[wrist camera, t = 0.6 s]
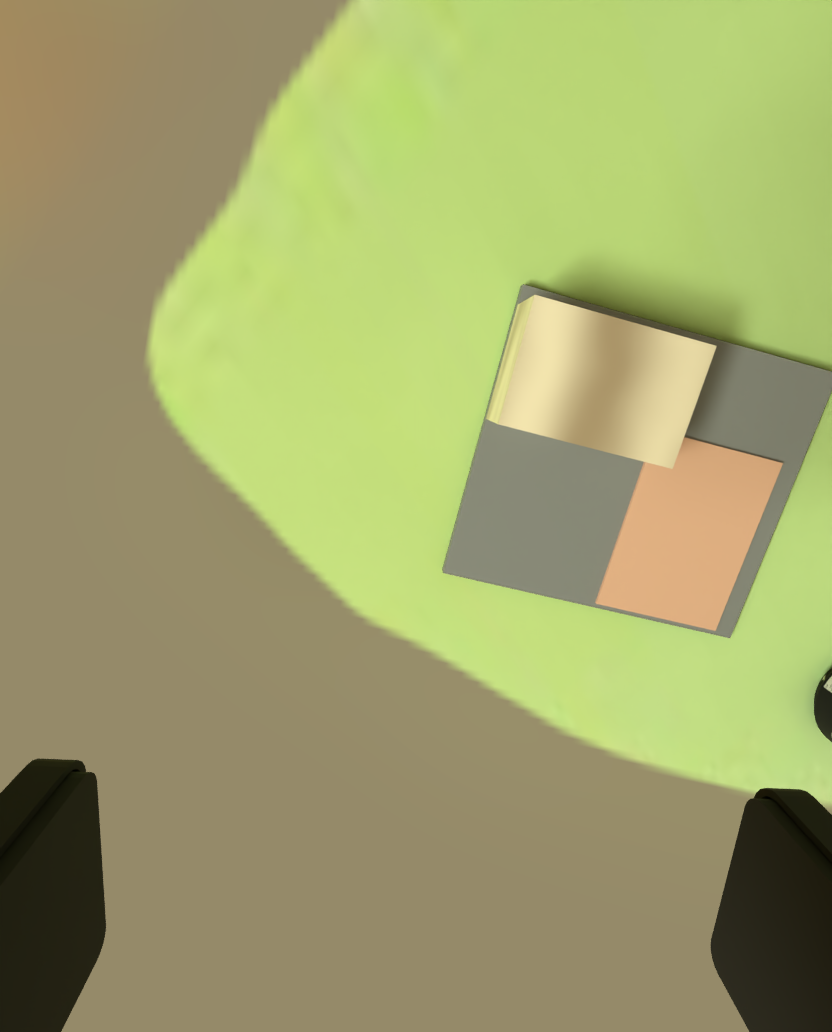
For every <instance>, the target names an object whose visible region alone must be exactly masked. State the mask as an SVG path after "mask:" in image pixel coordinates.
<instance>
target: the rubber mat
mask: <svg viewBox="0 0 832 1032" xmlns="http://www.w3.org/2000/svg"><path fill="white" fill-rule="evenodd" d="M534 295H538V296H541V297H545V298H548V299H552V300H555V301H559V302H563V303H566V304H570V305H573V306H577V307H580V308H584V309H587V310H591V311H594V312H598V313H602V314H605V315H609V316H612V317H616V318H619V319H623V320H626V321H630V322H633V323H637V324H641V325H644V326H648V327H651V328H655V329H658V330H662V331H665V332H669V333H672V334H676V335H680V336H683V337H687V338H690V339H694V340H697V341H701V342H704V343H708V344H712V345H715V346H717V347H716V350H715V352H714V355H713V358H712V361H711V364H710V366H709V369H708V372H707V375H706V378H705V380H704V383H703V386H702V389H701V391H700V394H699V397H698V400H697V403H696V405H695V408H694V411H693V414H692V416H691V419H690V422H689V425H688V428H687V430H686V433H685V436H684V439H683V442H682V444H681V447H680V450H679V453H678V455H677V458H676V461H675V464H674V467H673V469H670V468H666V467H663V466H659V465H655V464H651V463H647V462H643V461H639V460H635V459H631V458H627V457H624V456H620V455H616V454H612V453H608V452H604V451H600V450H596V449H592V448H589V447H585V446H581V445H577V444H573V443H569V442H565V441H561V440H557V439H553V438H550V437H546V436H542V435H538V434H534V433H530V432H526V431H522V430H518V429H514V428H511V427H507V426H503V425H499V424H496V423H494V422H492V421H490V420H487V419H486V417H487V413H488V410H489V406H490V403H491V399H492V395H493V392H494V388H495V385H496V381H497V378H498V374H499V370H500V367H501V363H502V360H503V356H504V352H505V349H506V345H507V342H508V338H509V334H510V331H511V327H512V324H513V320H514V316H515V313H516V309H517V306H518V304H520V303H521V302H523V301H525V300H527V299H528V298H530V297H532V296H534ZM831 391H832V372H831V371H827V370H824V369H820V368H817V367H813V366H810V365H806V364H803V363H799V362H796V361H792V360H788V359H785V358H781V357H778V356H774V355H771V354H767V353H764V352H760V351H757V350H753V349H750V348H746V347H743V346H739V345H736V344H732V343H728V342H725V341H721V340H718V339H714V338H711V337H707V336H704V335H700V334H697V333H693V332H690V331H686V330H683V329H679V328H675V327H672V326H668V325H665V324H661V323H658V322H654V321H651V320H647V319H644V318H640V317H637V316H633V315H630V314H626V313H623V312H619V311H615V310H612V309H608V308H605V307H601V306H598V305H594V304H591V303H587V302H584V301H580V300H577V299H573V298H570V297H566V296H562V295H559V294H555V293H552V292H548V291H545V290H541V289H538V288H534V287H531V286H527V285H524V284H523V285H522V286H521V287H520V291H519V294H518V298H517V302H516V305H515V309H514V313H513V316H512V320H511V323H510V327H509V331H508V334H507V338H506V341H505V345H504V349H503V352H502V356H501V359H500V363H499V367H498V370H497V374H496V377H495V381H494V385H493V388H492V392H491V395H490V399H489V403H488V406H487V410H486V414H485V417H484V421H483V424H482V428H481V432H480V435H479V439H478V442H477V446H476V450H475V453H474V457H473V460H472V464H471V468H470V471H469V475H468V478H467V482H466V486H465V489H464V493H463V496H462V500H461V504H460V507H459V511H458V515H457V518H456V522H455V525H454V529H453V533H452V536H451V540H450V543H449V547H448V551H447V554H446V558H445V561H444V565H443V569H442V570H443V573H446V574H450V575H455V576H459V577H464V578H468V579H472V580H477V581H481V582H485V583H490V584H494V585H499V586H503V587H507V588H512V589H516V590H521V591H525V592H529V593H534V594H538V595H543V596H547V597H551V598H556V599H560V600H565V601H569V602H573V603H578V604H582V605H587V606H591V607H595V608H600V609H604V610H609V611H613V612H617V613H622V614H626V615H631V616H635V617H639V618H644V619H648V620H653V621H657V622H661V623H666V624H670V625H674V626H679V627H683V628H688V629H692V630H696V631H701V632H705V633H710V634H714V635H718V636H723V637H727V638H730V637H731V635H732V632H733V630H734V627H735V625H736V623H737V620H738V618H739V615H740V613H741V610H742V608H743V605H744V603H745V601H746V598H747V596H748V593H749V591H750V588H751V586H752V584H753V581H754V579H755V576H756V574H757V571H758V569H759V567H760V564H761V562H762V559H763V557H764V554H765V552H766V550H767V547H768V545H769V542H770V540H771V537H772V535H773V532H774V530H775V528H776V525H777V523H778V520H779V518H780V515H781V513H782V511H783V508H784V506H785V503H786V501H787V498H788V496H789V494H790V491H791V489H792V486H793V484H794V481H795V479H796V477H797V474H798V472H799V469H800V467H801V464H802V462H803V459H804V457H805V455H806V452H807V450H808V447H809V445H810V442H811V440H812V438H813V435H814V433H815V430H816V428H817V425H818V423H819V421H820V418H821V416H822V413H823V411H824V408H825V406H826V404H827V401H828V399H829V396H830V394H831Z"/></svg>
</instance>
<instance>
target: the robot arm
mask: <svg viewBox="0 0 832 1032" xmlns="http://www.w3.org/2000/svg"><path fill="white" fill-rule="evenodd" d="M105 931H106V920H105V903H104V888H103V871H102V855H101V839H100V823H99V807H98V792H97V780H96V776H95V774H94V773H92V772H86V769H85V766H84V764H83V762H81V761H79V760H58V759H36V760H33V761H31V762H30V763H29V764H28V765H27V766H26V767H25V768H24V769H23V770H22V771H21V772H20V773H19V774H18V775H17V776H16V777H15V778H14V779H13V780H12V782H11V783H10V784H9V785H8V786H7V787H6V788H5V789H4V790H3V791H2V792H1V793H0V1032H61V1031H62V1029H63V1027H64V1024H65V1023H66V1021H67V1019H68V1017H69V1015H70V1013H71V1011H72V1009H73V1007H74V1005H75V1003H76V1001H77V999H78V997H79V995H80V993H81V991H82V989H83V987H84V985H85V983H86V981H87V979H88V977H89V975H90V973H91V971H92V969H93V967H94V965H95V963H96V961H97V958H98V957H99V954H100V952H101V949H102V946H103V942H104V937H105ZM711 954H712V959H713V962H714V965H715V968H716V970H717V973H718V975H719V977H720V978H721V980H722V982H723V984H724V986H725V987H726V989H727V991H728V993H729V995H730V997H731V999H732V1000H733V1002H734V1004H735V1006H736V1007H737V1010H738V1011H739V1013H740V1015H741V1017H742V1019H743V1020H744V1022H745V1024H746V1026H747V1028H748V1030H749V1032H832V815H831V814H830V813H829V812H828V811H827V810H826V809H825V808H824V807H823V806H822V805H821V804H820V803H819V802H818V801H817V800H816V799H815V798H814V797H813V796H812V795H810V794H809V793H808V792H806V791H803V790H799V789H774V788H764V789H760V790H759V791H758V792H757V793H756V795H755V797H754V799H750V800H749V801H748V802H747V803H746V805H745V808H744V813H743V816H742V820H741V824H740V828H739V832H738V836H737V840H736V844H735V848H734V852H733V856H732V860H731V864H730V868H729V871H728V875H727V879H726V883H725V888H724V891H723V895H722V899H721V903H720V907H719V911H718V915H717V919H716V923H715V927H714V931H713V934H712V938H711Z"/></svg>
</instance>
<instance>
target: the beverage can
mask: <svg viewBox="0 0 832 1032" xmlns="http://www.w3.org/2000/svg"><path fill="white" fill-rule="evenodd" d="M814 715H815V720H816V723H817V725H818V727H819V729H820V730H821V732H822V733H823V734H824V736H825V737H826V738H828V739H829V740H830V741H831V742H832V669H830V670H829V671H828V672H827V673H826V674H825V676H824V677H823V678H822V680H821V681H820V683H819V685H818V687H817V690H816V693H815V698H814Z"/></svg>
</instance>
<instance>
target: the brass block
mask: <svg viewBox="0 0 832 1032" xmlns="http://www.w3.org/2000/svg"><path fill="white" fill-rule="evenodd" d="M716 347H717V346H715V345H712V344H708V343H704V342H701V341H697V340H694V339H690V338H687V337H683V336H680V335H676V334H672V333H669V332H665V331H662V330H658V329H655V328H651V327H648V326H644V325H641V324H637V323H633V322H630V321H626V320H623V319H619V318H616V317H612V316H609V315H605V314H602V313H598V312H594V311H591V310H587V309H584V308H580V307H577V306H573V305H570V304H566V303H563V302H559V301H555V300H552V299H548V298H545V297H541V296H538V295H534V296H532V297H530V298H528V299H527V300H525V301H523V302H521V303H520V304H518V306H517V309H516V313H515V316H514V320H513V324H512V327H511V331H510V334H509V338H508V342H507V345H506V349H505V352H504V356H503V360H502V363H501V367H500V370H499V374H498V378H497V381H496V385H495V388H494V392H493V395H492V399H491V403H490V406H489V410H488V413H487V417H486V419H487V420H490V421H492V422H494V423H496V424H499V425H503V426H507V427H511V428H514V429H518V430H522V431H526V432H530V433H534V434H538V435H542V436H546V437H550V438H553V439H557V440H561V441H565V442H569V443H573V444H577V445H581V446H585V447H589V448H592V449H596V450H600V451H604V452H608V453H612V454H616V455H620V456H624V457H627V458H631V459H635V460H639V461H643V462H647V463H651V464H655V465H659V466H663V467H666V468H670V469H673V467H674V464H675V461H676V458H677V455H678V453H679V450H680V447H681V444H682V442H683V439H684V436H685V433H686V430H687V428H688V425H689V422H690V419H691V416H692V414H693V411H694V408H695V405H696V403H697V400H698V397H699V394H700V391H701V389H702V386H703V383H704V380H705V378H706V375H707V372H708V369H709V366H710V364H711V361H712V358H713V355H714V352H715V350H716Z"/></svg>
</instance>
